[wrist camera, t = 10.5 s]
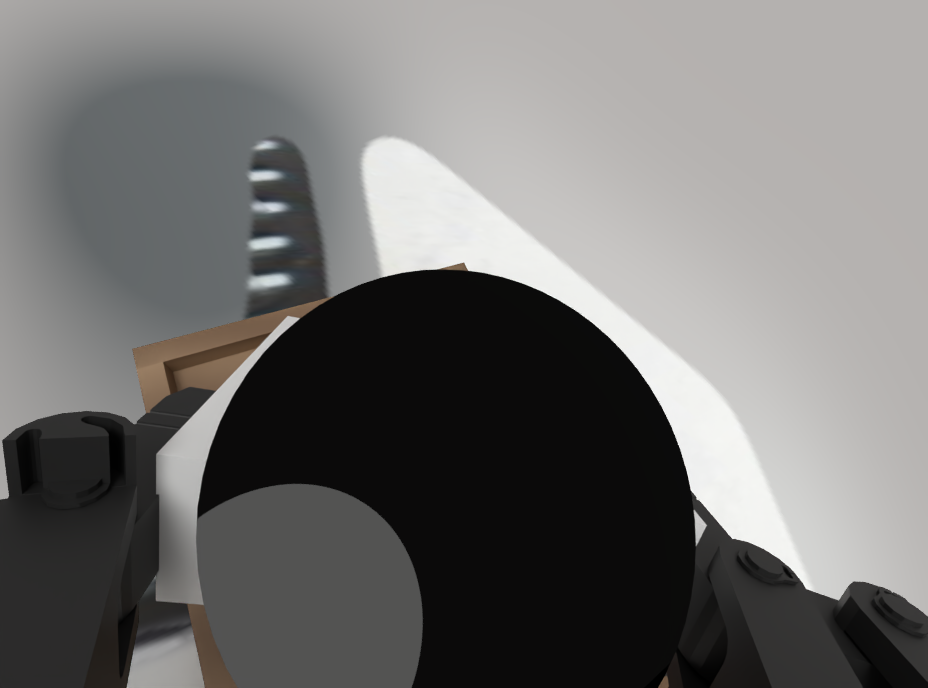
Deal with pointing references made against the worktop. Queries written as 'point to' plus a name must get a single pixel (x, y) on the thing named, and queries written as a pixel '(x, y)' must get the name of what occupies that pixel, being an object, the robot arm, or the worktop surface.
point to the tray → (208, 367)
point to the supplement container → (445, 499)
